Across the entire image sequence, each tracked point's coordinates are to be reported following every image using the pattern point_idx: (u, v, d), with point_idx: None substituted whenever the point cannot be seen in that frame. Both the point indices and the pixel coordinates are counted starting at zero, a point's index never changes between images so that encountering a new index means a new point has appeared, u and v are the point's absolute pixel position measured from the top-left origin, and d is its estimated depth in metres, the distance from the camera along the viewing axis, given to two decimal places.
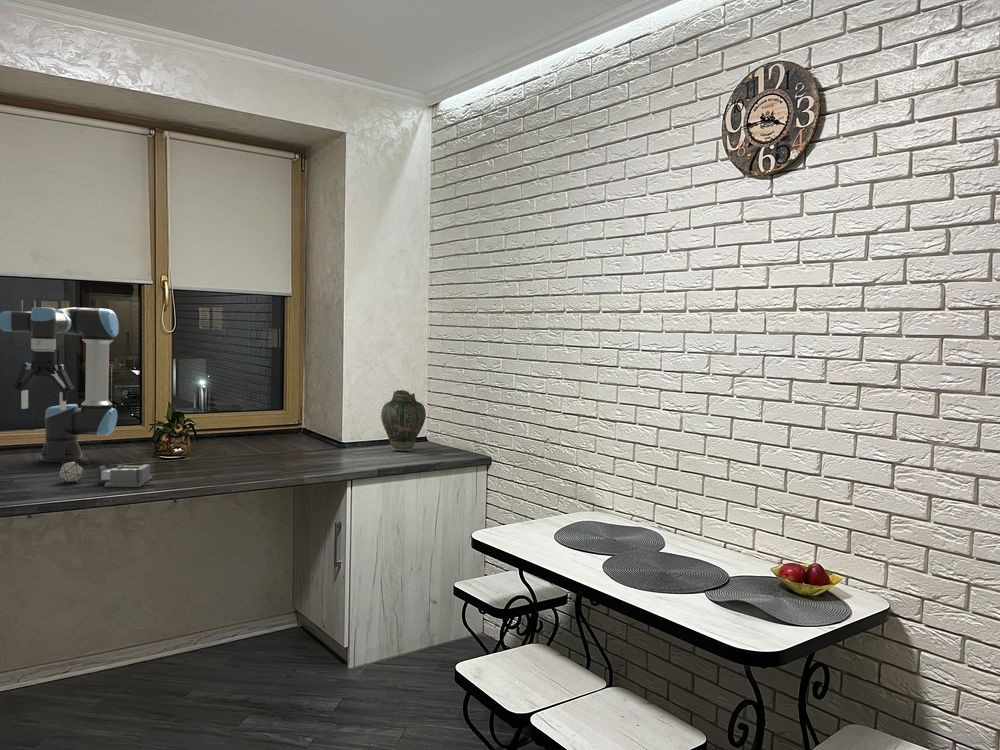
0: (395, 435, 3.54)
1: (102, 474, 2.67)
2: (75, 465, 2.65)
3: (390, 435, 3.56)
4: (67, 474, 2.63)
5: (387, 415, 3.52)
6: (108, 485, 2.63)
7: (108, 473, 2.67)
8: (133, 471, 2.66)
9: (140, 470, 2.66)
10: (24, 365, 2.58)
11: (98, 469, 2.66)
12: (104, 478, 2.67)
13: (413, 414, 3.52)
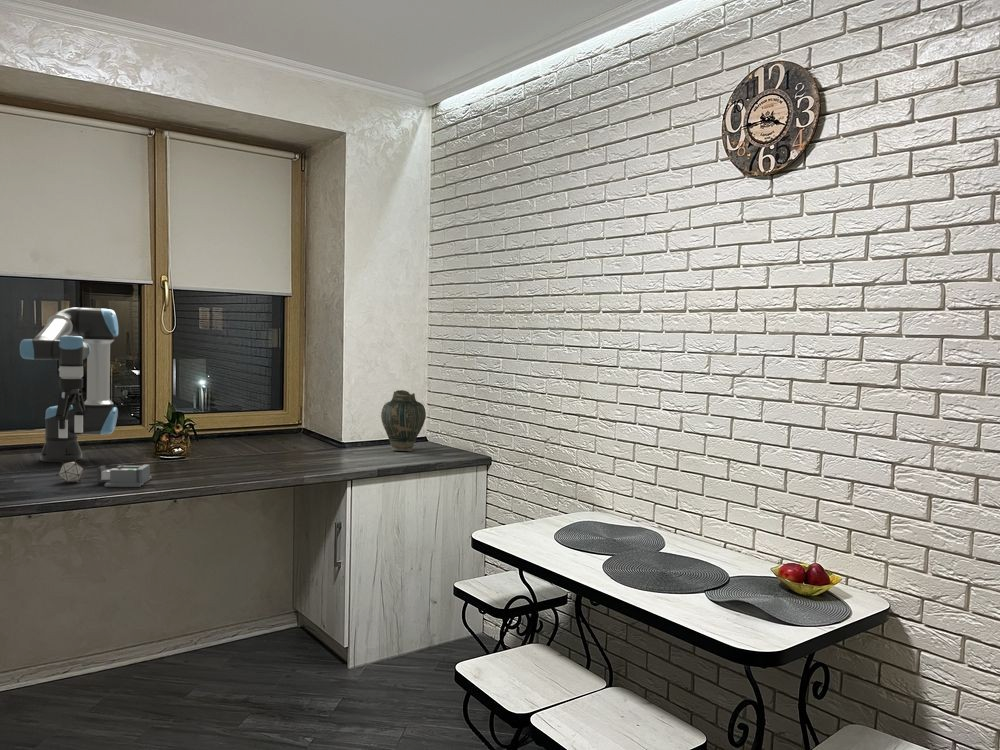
0: (395, 435, 3.54)
1: (102, 474, 2.67)
2: (75, 465, 2.65)
3: (390, 435, 3.56)
4: (67, 474, 2.63)
5: (387, 415, 3.52)
6: (108, 485, 2.63)
7: (108, 473, 2.67)
8: (133, 471, 2.66)
9: (140, 470, 2.66)
10: None
11: (98, 469, 2.66)
12: (104, 478, 2.67)
13: (413, 414, 3.52)
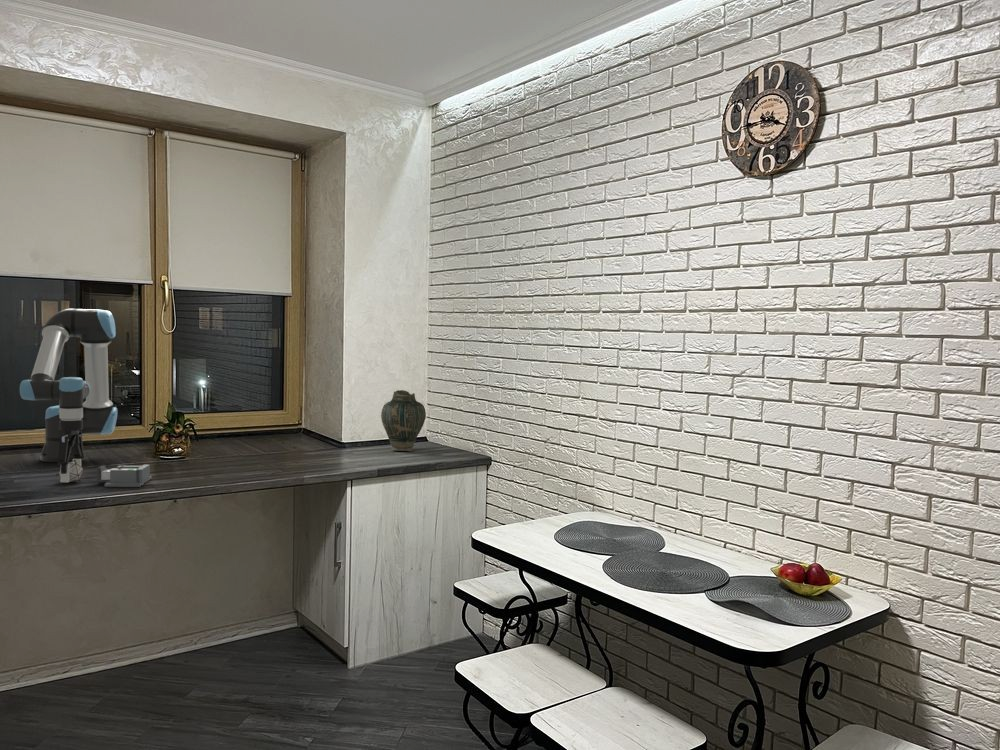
0: (395, 435, 3.54)
1: (102, 474, 2.67)
2: (75, 465, 2.65)
3: (390, 435, 3.56)
4: None
5: (387, 415, 3.52)
6: (108, 485, 2.63)
7: (108, 473, 2.67)
8: (133, 471, 2.66)
9: (140, 470, 2.66)
10: None
11: (98, 469, 2.66)
12: (104, 478, 2.67)
13: (413, 414, 3.52)
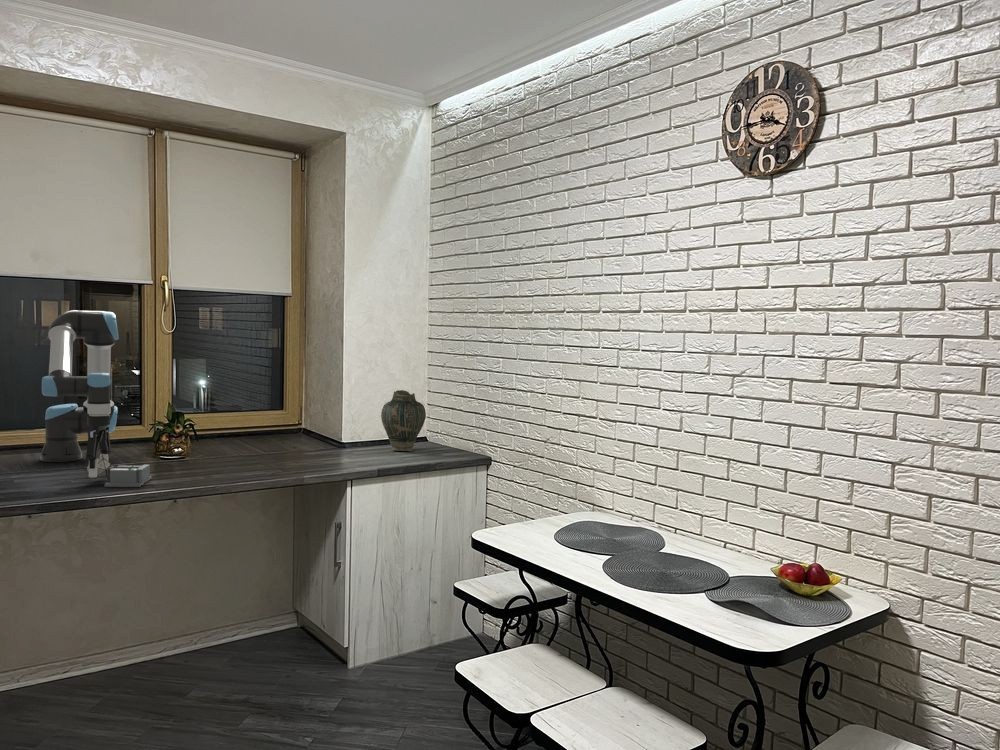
0: (395, 435, 3.54)
1: None
2: (103, 460, 2.67)
3: (390, 435, 3.56)
4: None
5: (387, 415, 3.52)
6: (108, 485, 2.63)
7: None
8: (133, 471, 2.66)
9: (140, 470, 2.66)
10: None
11: (108, 469, 2.67)
12: None
13: (413, 414, 3.52)
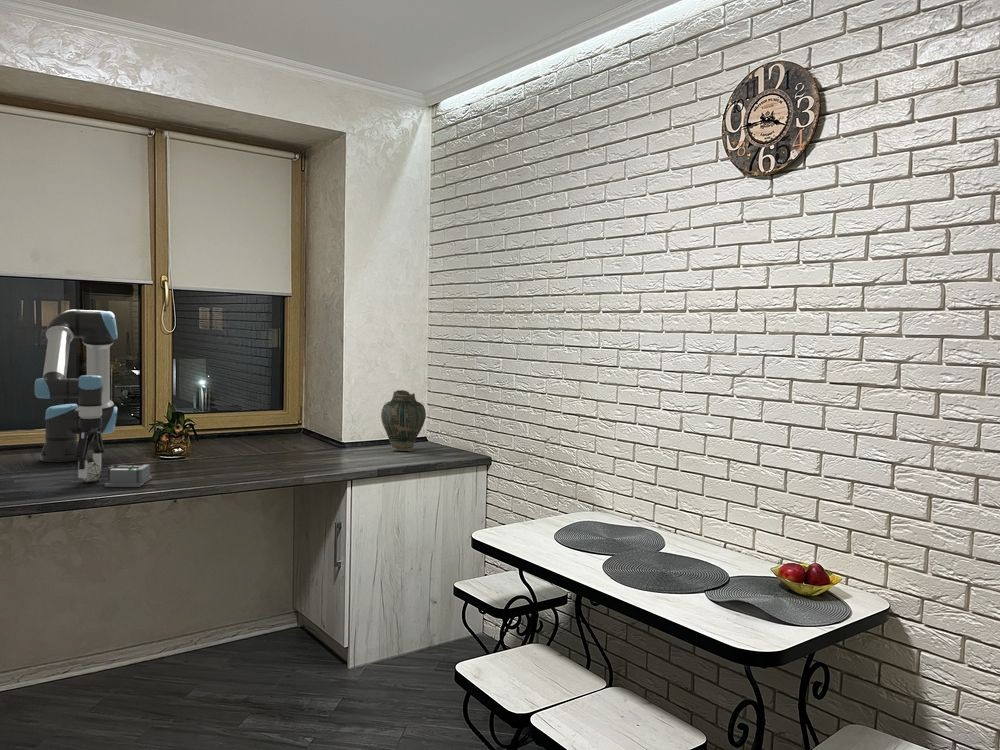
0: (395, 435, 3.54)
1: None
2: (94, 465, 2.66)
3: (390, 435, 3.56)
4: None
5: (387, 415, 3.52)
6: (108, 485, 2.63)
7: None
8: (133, 471, 2.66)
9: (140, 470, 2.66)
10: None
11: (108, 469, 2.67)
12: None
13: (413, 414, 3.52)
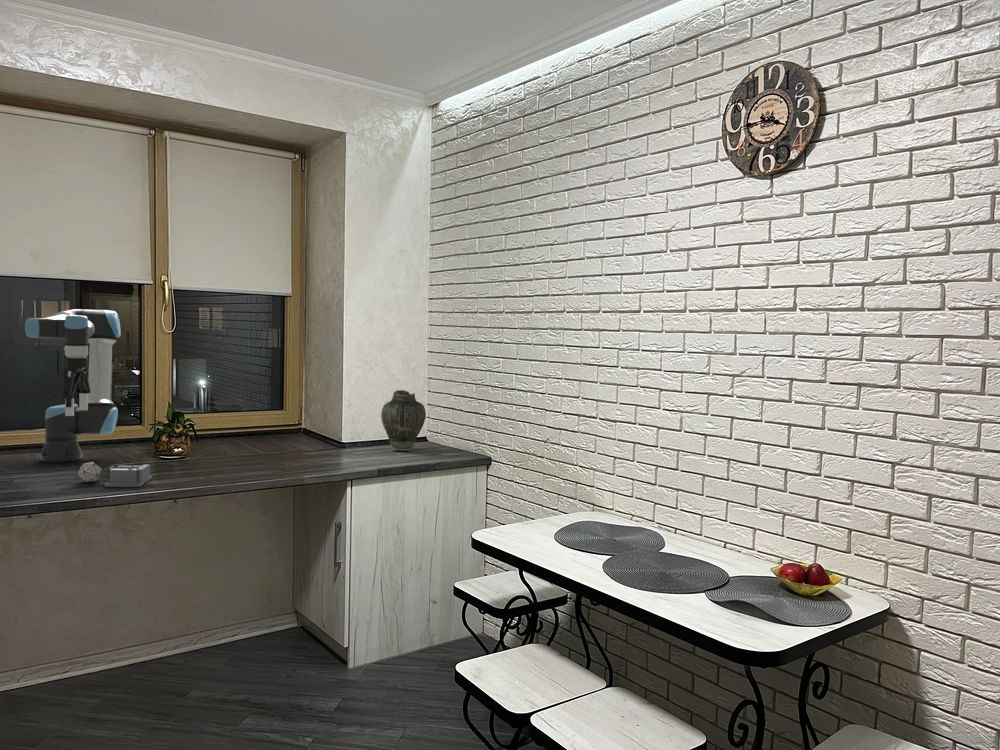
0: (395, 435, 3.54)
1: None
2: (94, 465, 2.66)
3: (390, 435, 3.56)
4: (86, 474, 2.64)
5: (387, 415, 3.52)
6: (108, 485, 2.63)
7: None
8: (133, 471, 2.66)
9: (140, 470, 2.66)
10: None
11: (108, 469, 2.67)
12: None
13: (413, 414, 3.52)
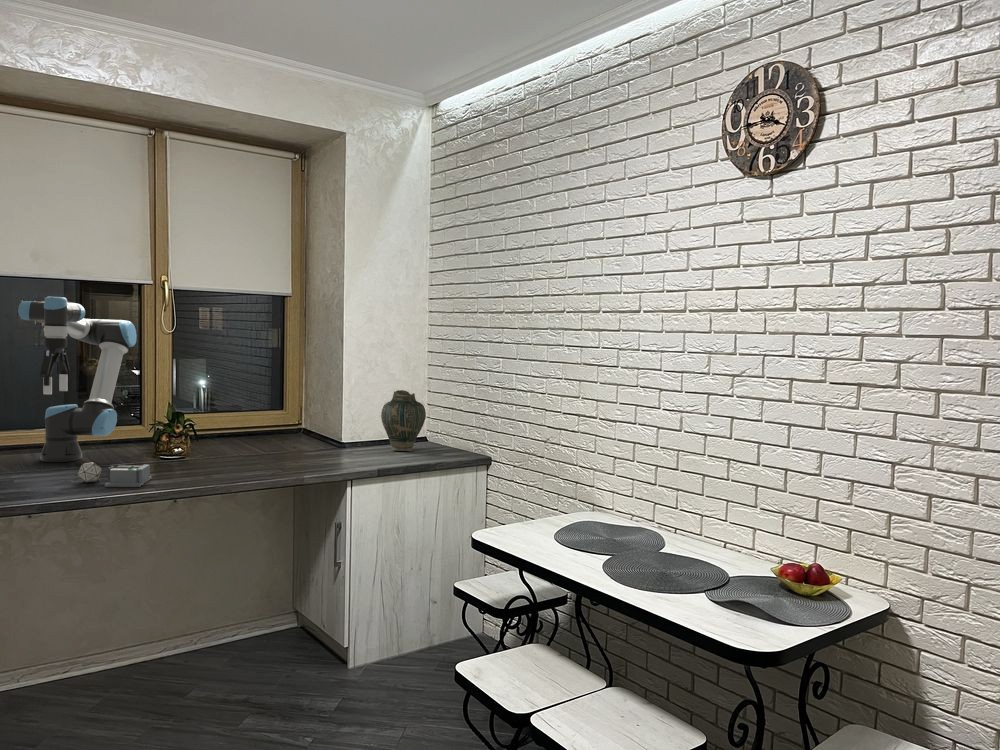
0: (395, 435, 3.54)
1: None
2: (94, 465, 2.66)
3: (390, 435, 3.56)
4: (86, 474, 2.64)
5: (387, 415, 3.52)
6: (108, 485, 2.63)
7: None
8: (133, 471, 2.66)
9: (140, 470, 2.66)
10: None
11: (108, 469, 2.67)
12: None
13: (413, 414, 3.52)
